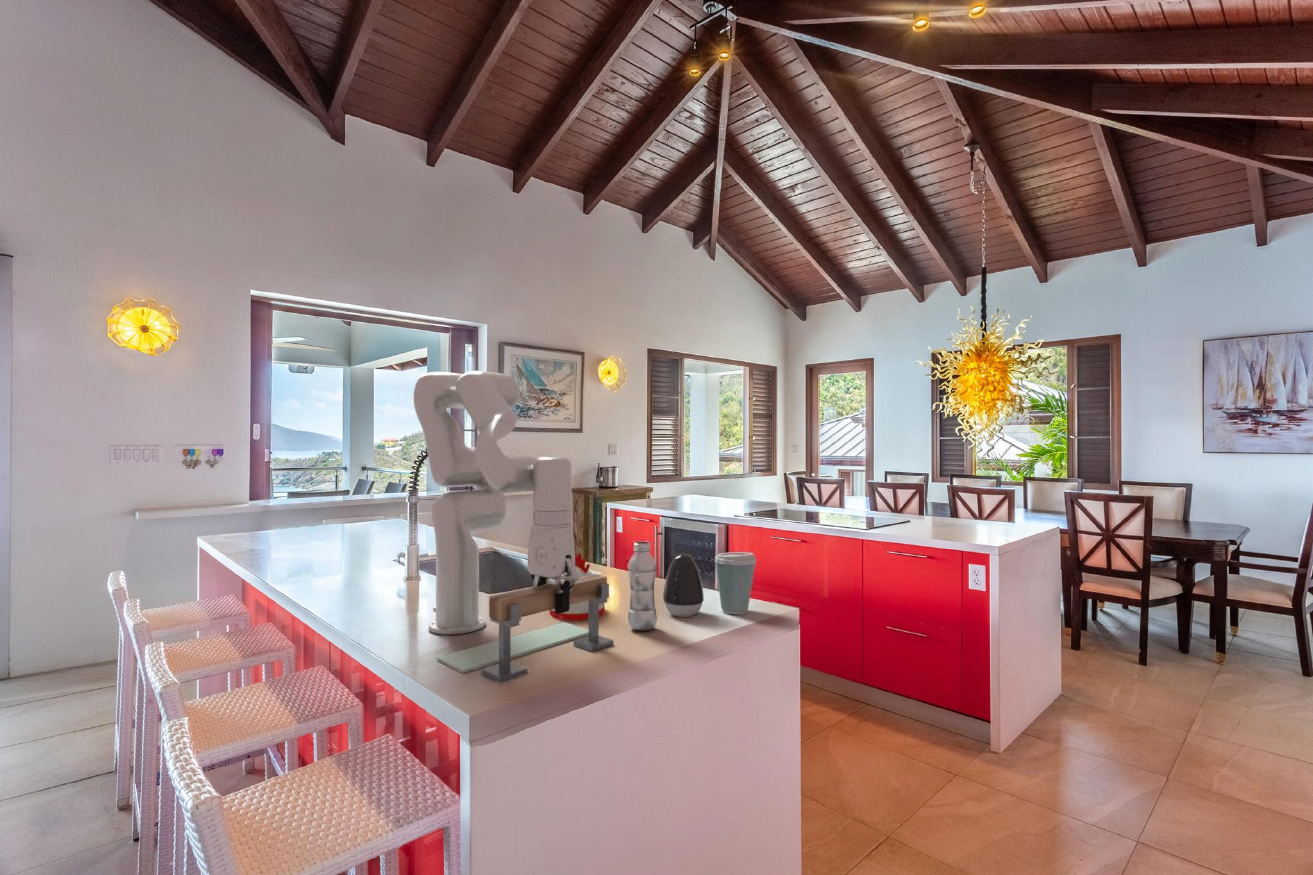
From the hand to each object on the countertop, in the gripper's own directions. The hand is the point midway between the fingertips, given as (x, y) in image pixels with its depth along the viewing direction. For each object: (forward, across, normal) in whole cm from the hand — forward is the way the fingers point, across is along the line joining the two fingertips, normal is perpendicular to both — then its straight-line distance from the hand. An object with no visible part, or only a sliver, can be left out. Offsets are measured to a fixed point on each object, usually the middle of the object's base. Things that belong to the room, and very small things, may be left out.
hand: (552, 608), depth 122 cm
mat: (+10, -11, 0) cm, 15 cm away
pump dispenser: (+10, -1, +42) cm, 43 cm away
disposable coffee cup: (+10, +7, +53) cm, 54 cm away
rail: (0, 0, 0) cm, 0 cm away
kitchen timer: (+10, -22, +25) cm, 35 cm away
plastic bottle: (+10, 0, +26) cm, 28 cm away
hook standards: (+10, 0, 0) cm, 10 cm away
